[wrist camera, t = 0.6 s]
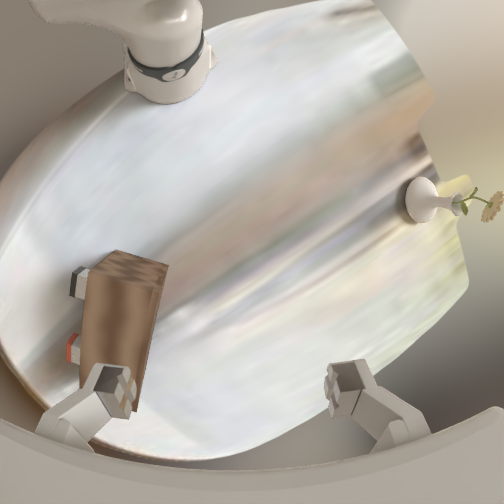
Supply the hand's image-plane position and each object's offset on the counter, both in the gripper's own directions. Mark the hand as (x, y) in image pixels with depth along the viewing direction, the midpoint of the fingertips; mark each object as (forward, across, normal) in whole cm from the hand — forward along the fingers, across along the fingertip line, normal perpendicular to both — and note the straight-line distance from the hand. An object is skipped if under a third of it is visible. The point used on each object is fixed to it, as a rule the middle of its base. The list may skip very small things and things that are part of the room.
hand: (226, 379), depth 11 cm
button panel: (+38, +24, +24) cm, 51 cm away
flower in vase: (+53, -44, +5) cm, 69 cm away
